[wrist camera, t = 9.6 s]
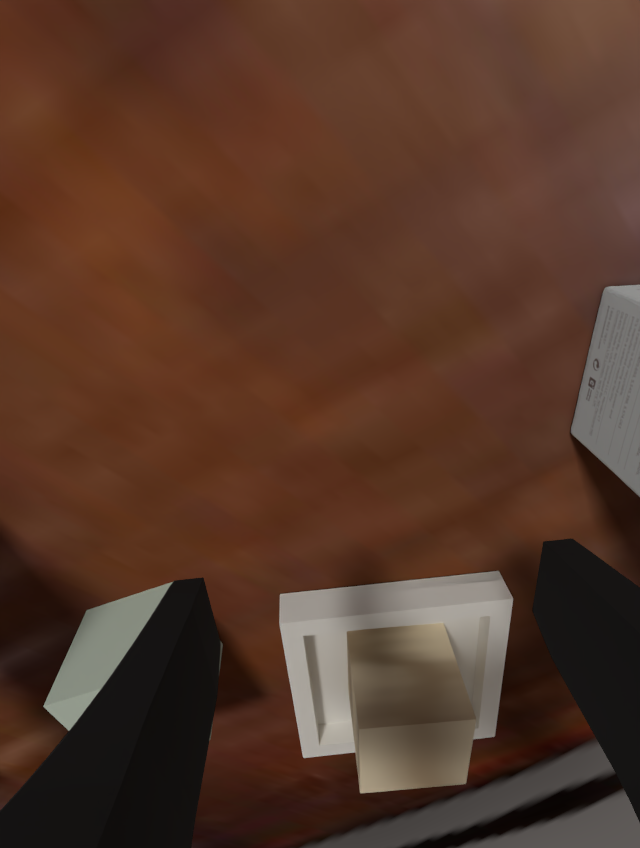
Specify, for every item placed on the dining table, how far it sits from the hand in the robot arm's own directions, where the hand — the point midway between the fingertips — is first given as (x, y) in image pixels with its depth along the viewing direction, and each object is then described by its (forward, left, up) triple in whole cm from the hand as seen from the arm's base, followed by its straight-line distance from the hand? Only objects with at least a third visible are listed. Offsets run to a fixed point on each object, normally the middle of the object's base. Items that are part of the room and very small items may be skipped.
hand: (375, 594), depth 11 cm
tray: (+2, -16, -10) cm, 19 cm away
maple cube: (+2, -16, -10) cm, 18 cm away
